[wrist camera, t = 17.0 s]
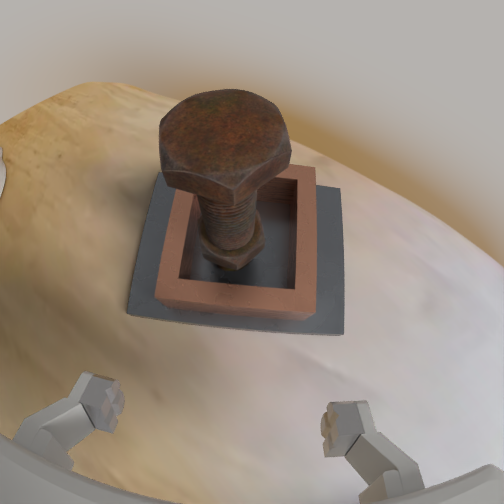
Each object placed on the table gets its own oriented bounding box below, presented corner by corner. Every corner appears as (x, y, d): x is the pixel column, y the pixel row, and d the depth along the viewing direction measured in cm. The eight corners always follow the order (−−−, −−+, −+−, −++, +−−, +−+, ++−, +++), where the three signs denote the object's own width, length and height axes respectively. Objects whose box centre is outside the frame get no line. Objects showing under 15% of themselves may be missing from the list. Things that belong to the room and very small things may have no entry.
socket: (131, 315, 24) (107, 304, 19) (161, 179, 29) (149, 146, 24) (339, 335, 24) (362, 328, 19) (336, 194, 29) (352, 164, 24)
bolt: (199, 230, 26) (159, 94, 12) (255, 220, 26) (267, 78, 12) (208, 294, 24) (159, 197, 10) (269, 283, 24) (304, 174, 10)
